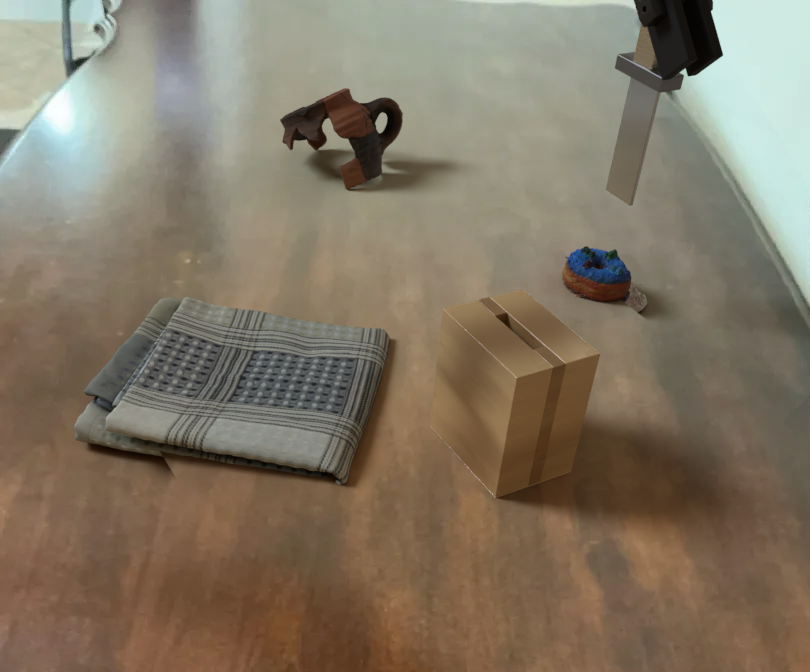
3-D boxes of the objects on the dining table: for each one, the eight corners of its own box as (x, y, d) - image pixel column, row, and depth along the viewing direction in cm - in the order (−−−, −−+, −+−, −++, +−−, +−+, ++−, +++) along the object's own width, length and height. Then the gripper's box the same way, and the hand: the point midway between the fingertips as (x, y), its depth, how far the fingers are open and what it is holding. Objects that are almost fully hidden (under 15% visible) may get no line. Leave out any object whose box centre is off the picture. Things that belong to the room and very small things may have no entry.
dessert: (530, 285, 80) (569, 219, 79) (557, 303, 86) (595, 242, 84) (608, 332, 77) (650, 265, 75) (631, 347, 83) (671, 285, 81)
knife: (649, 209, 74) (719, -57, 62) (629, 213, 73) (695, -55, 61) (608, 182, 77) (667, -77, 65) (589, 186, 76) (644, -76, 64)
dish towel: (395, 346, 74) (398, 309, 71) (345, 500, 61) (346, 460, 59) (159, 310, 75) (154, 272, 73) (61, 452, 62) (52, 412, 60)
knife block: (568, 482, 64) (601, 353, 57) (493, 509, 61) (517, 378, 54) (500, 415, 68) (522, 288, 62) (428, 437, 66) (442, 308, 59)
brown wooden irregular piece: (325, 204, 91) (287, 115, 87) (295, 207, 99) (259, 125, 96) (432, 152, 93) (400, 63, 90) (394, 158, 102) (363, 78, 98)
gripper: (641, -240, 70) (732, 82, 72) (471, -244, 64) (574, 107, 66) (714, -331, 63) (812, 27, 65) (531, -345, 57) (644, 50, 59)
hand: (692, 67), depth 65 cm, fingers closed on knife, 2 cm apart
